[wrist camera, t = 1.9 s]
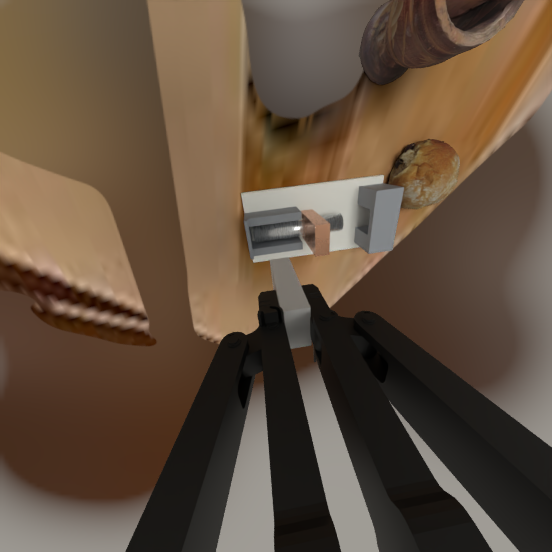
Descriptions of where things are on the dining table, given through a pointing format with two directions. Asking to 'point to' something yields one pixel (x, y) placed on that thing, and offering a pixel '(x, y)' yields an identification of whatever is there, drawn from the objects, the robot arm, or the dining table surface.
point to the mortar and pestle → (428, 33)
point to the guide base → (326, 200)
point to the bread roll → (425, 173)
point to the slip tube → (303, 230)
